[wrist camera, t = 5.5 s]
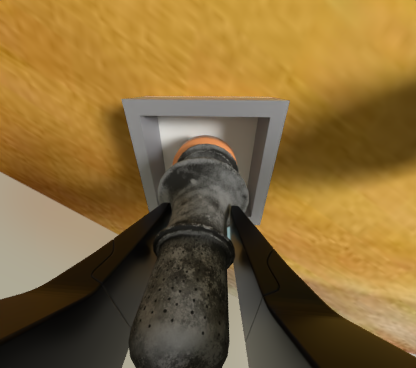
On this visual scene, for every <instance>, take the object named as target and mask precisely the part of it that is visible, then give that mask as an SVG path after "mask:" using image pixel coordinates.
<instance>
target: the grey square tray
mask: <svg viewBox="0 0 416 368" xmlns="http://www.w3.org/2000/svg"><path fill="white" fill-rule="evenodd" d="M289 102H290V101H289V100H284V99H278V98H273V97H198V96H144V97H136V98H128V99H122V103H123V107H124V111H125V115H126V119H127V124H128V128H129V132H130V136H131V140H132V144H133V148H134V152H135V156H136V160H137V164H138V168H139V172H140V176H141V180H142V184H143V188H144V192H145V197H146V201H147V205H148V209H149V212H151V211H152V210H154V209H155V208H156V207H158V206H159V205H160V203H159V200H158V186H159V182H160V179H161V178H162V176H163V175H164V173H165V172H166V171H167V169H169V168H170V167H171V166H172V165H173V160H174V157H175V155H176V153H177V152H178V150H179V149H180V147H181V146H182V145H183V144H184V143H185V142H186V141H187V140H189V139H191V138H193V137H196V136H201V135H209V136H214V137H217V138H219V139H221V140H223V141H224V142H226V143H227V144H228V145H229V146H230V148H231V149H232V151H233V152H234V155H235V158H236V162H237V166H238V170H239V174H240V175H241V177H242V178H243V180H244V181H245V183H246V186H247V189H248V192H249V203H248V206H247V209H246V212H245V214H246V216H247V217H248V218H249V219H250V220H251V222H252V223H253V224H254V225H260V222H261V218H262V214H263V210H264V206H265V202H266V197H267V193H268V189H269V185H270V181H271V177H272V172H273V168H274V164H275V160H276V156H277V152H278V147H279V143H280V139H281V135H282V131H283V127H284V122H285V118H286V114H287V110H288V106H289Z"/></svg>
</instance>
